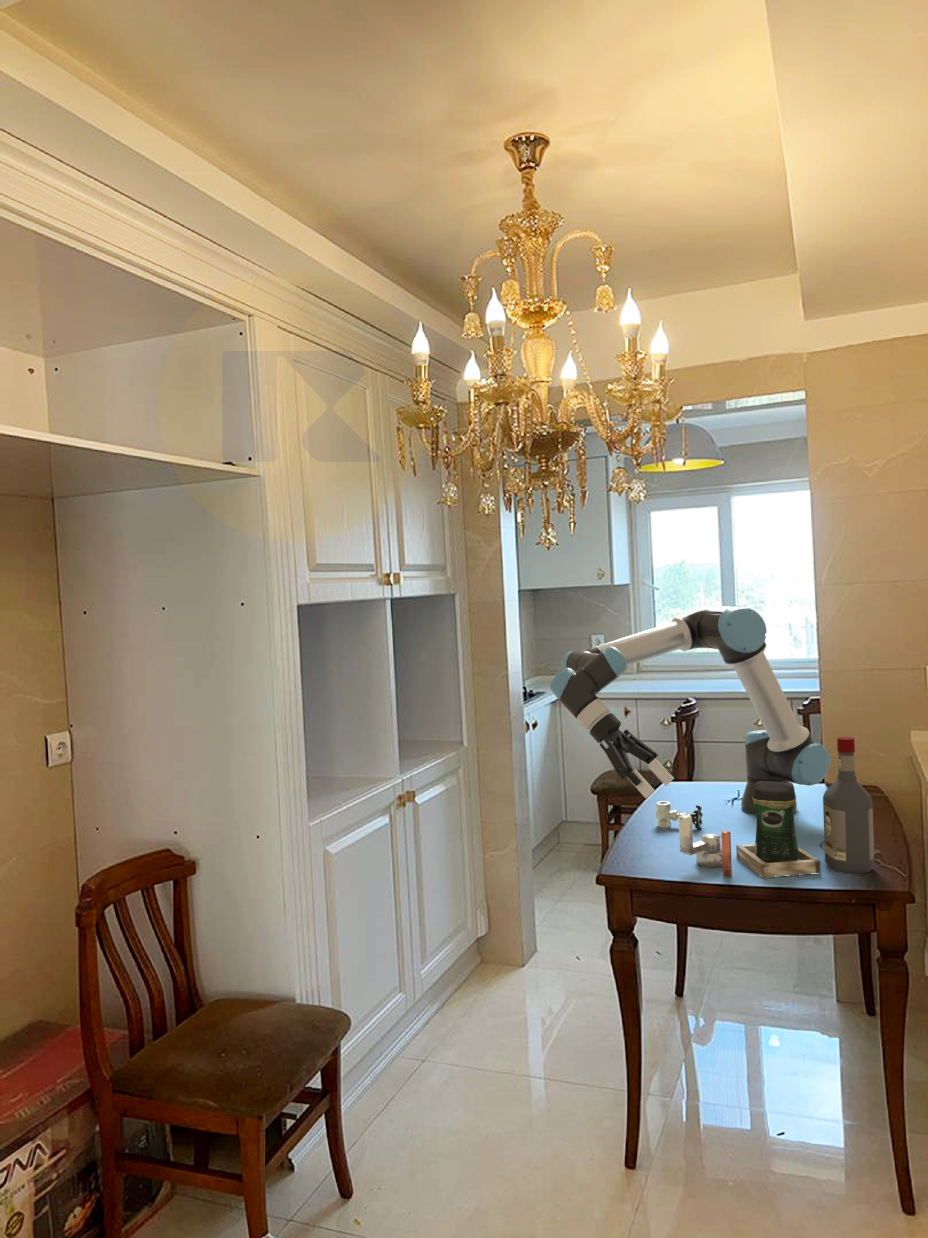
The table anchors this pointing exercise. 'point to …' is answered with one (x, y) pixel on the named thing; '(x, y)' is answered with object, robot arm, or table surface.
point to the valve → (675, 815)
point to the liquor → (848, 817)
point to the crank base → (718, 856)
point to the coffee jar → (775, 822)
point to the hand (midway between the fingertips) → (660, 788)
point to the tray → (778, 863)
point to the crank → (689, 848)
